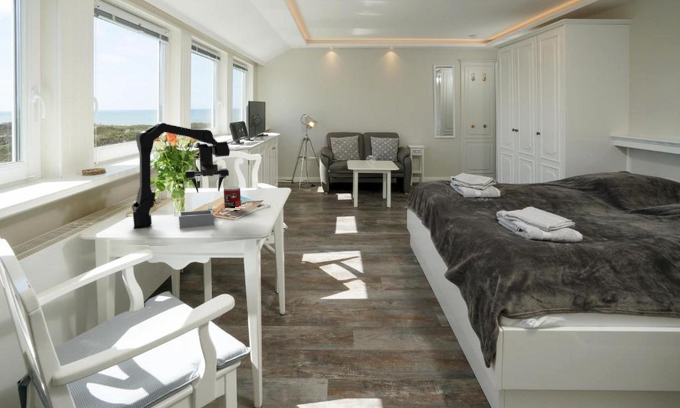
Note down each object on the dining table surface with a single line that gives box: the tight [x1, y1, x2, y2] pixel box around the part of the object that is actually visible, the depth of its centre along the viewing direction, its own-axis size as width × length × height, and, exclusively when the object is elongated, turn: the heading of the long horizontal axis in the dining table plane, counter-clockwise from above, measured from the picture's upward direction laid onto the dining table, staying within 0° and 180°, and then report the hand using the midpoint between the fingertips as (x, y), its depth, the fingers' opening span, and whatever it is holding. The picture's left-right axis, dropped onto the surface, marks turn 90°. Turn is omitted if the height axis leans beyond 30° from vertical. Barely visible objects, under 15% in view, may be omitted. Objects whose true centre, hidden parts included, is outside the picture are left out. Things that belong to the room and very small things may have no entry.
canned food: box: [223, 186, 242, 209], centre depth 232 cm, size 8×8×11 cm
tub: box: [178, 209, 215, 229], centre depth 205 cm, size 14×9×5 cm, turn 108°
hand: (208, 191), depth 216 cm, fingers open, 9 cm apart
